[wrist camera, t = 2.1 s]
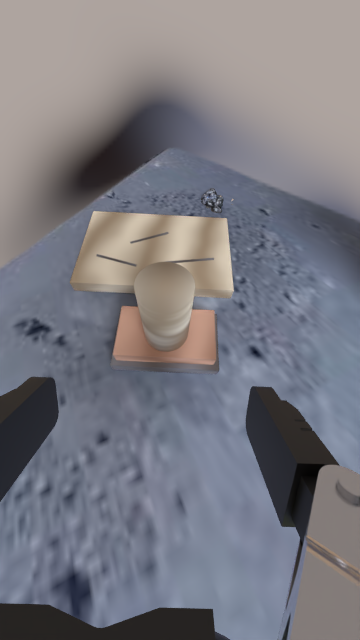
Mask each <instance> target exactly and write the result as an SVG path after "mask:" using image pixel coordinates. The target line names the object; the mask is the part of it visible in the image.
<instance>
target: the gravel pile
mask: <svg viewBox="0 0 360 640" xmlns="http://www.w3.org/2000/svg"><path fill="white" fill-rule="evenodd" d="M201 200H202V201H201V203H202V204H203V205H206V207H207V208H211V211H212V212H216V213H221V212H222V209H221V207H222V205H223V204H222V203H223V197H222V196H221V195H217V193H216V191H215V189H214V188H211V189H210V190H209V191H207V192H206V193H205V194H204V195H203V196H202V198H201ZM233 200H234V199H232V201H233ZM232 205H233V204H232Z"/></svg>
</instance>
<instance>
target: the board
mask: <svg viewBox="0 0 360 640" xmlns="http://www.w3.org/2000/svg"><path fill="white" fill-rule="evenodd" d="M157 262H172V263H176V264H179V265H181V266H183V267H184V268H186V269H187V270H188V271H189V272H190V273H191V274H192V276H193V278H194V281H195V293H194V296H196V297H216V298H231V296H232V293H233V291H234V289H233V279H232V268H231V257H230V247H229V236H228V225H227V218H210V217H192V216H174V215H155V214H137V213H118V212H100V211H93V214H92V217H91V220H90V223H89V226H88V229H87V232H86V235H85V238H84V241H83V244H82V247H81V250H80V253H79V256H78V259H77V262H76V265H75V268H74V271H73V274H72V277H71V280H70V284H71V285H72V287H73V288H74V290H75V291H95V292H115V293H135V291H134V282H135V279H136V277H137V275H138V274H139V272H140V271H141V270H142V269H144V268H145V267H147V266H148V265H151V264H153V263H157Z"/></svg>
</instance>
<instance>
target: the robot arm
mask: <svg viewBox="0 0 360 640" xmlns="http://www.w3.org/2000/svg"><path fill="white" fill-rule="evenodd" d="M58 413H59V410H58V401H57V393H56V385H55V380H54V379H53V378H50V377H31V378H29V379H28V380H27V381H25V382H24V383H23V384H22V385H21V386H19V387H18V388H17V389H14V390H12V391H10V392H8V393H6V394H4V395H2V396H0V501H1V500H2V499H3V497H4V496H5V494H6V493H7V492H8V490H9V489H10V487H11V486H12V485H13V483H14V482H15V481H16V479H17V478H18V476H19V475H20V474H21V472H22V471H23V469H24V468H25V467H26V465H27V464H28V462H29V461H30V460H31V458H32V457H33V456H34V454H35V453H36V451H37V450H38V449H39V447H40V446H41V444H42V443H43V442H44V440H45V439H46V437H47V436H48V435H49V433H50V432H51V431H52V429H53V428H54V426H55V424H56V422H57V419H58ZM246 430H247V435H248V438H249V440H250V443H251V446H252V448H253V451H254V454H255V456H256V459H257V462H258V464H259V467H260V470H261V472H262V475H263V478H264V480H265V483H266V486H267V488H268V491H269V494H270V497H271V499H272V502H273V505H274V507H275V510H276V513H277V515H278V518H279V521H280V523H281V526H282V527H296V529H297V532H298V534H299V536H300V540H299V544H298V548H297V553H296V557H295V562H294V567H293V571H292V576H291V581H290V585H289V590H288V595H287V599H286V604H285V609H284V613H283V618H282V622H281V627H280V631H279V635H278V639H277V640H360V475H359V474H358V473H356V472H354V471H352V470H350V469H348V468H345V467H342V466H340V465H339V464H338V463H337V461H336V460H335V459H334V457H333V456H332V455H331V453H330V452H329V451H328V449H327V448H326V447H325V445H324V444H323V443H322V441H321V440H320V439H319V437H318V436H317V435H316V433H315V432H314V431H312V428H311V427H310V425H309V424H308V423H307V422H306V421H305V419H304V417H303V416H302V415H301V413H300V412H299V411H298V409H296V408H295V407H294V406H292V405H291V404H290V403H288V402H287V401H284V400H280V398H279V397H278V395H277V394H276V392H275V391H274V389H273V388H272V387H255V386H253V387H252V388H251V390H250V395H249V402H248V408H247V415H246ZM0 640H230V639H228V638H227V637H225V636H223V635H221V634H219V633H217V632H215V629H214V618H213V609H190V608H158V609H155V610H152V611H149V612H146V613H144V614H141V615H138V616H135V617H133V618H130V619H127V620H124V621H122V622H119V623H116V624H113V625H111V626H108V627H105V628H96V627H93V626H91V625H89V624H87V623H85V622H83V621H81V620H79V619H77V618H75V617H73V616H71V615H69V614H67V613H65V612H63V611H61V610H59V609H56V608H54V607H52V606H50V605H39V604H2V603H0Z"/></svg>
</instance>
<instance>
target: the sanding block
mask: <svg viewBox="0 0 360 640" xmlns="http://www.w3.org/2000/svg"><path fill="white" fill-rule="evenodd" d="M134 291H135V295H136V300H137V304H138V307H134V306H122V309H121V310H120V315H119V321H118V326H117V331H116V337H115V342H114V347H113V353H112V358H111V364H110V366H111V367H112V368H113V370H131V371H154V372H176V373H198V374H217V373H218V371H219V358H218V336H217V315H216V314H214V310H196V309H192V306H193V299H194V293H195V281H194V278H193V276H192V274H191V273H190V272H189V271H188V270H187V269H186V268H184V267H183V266H181V265H179V264H176V263H172V262H157V263H153V264H151V265H148V266H147V267H145V268H144V269H142V270H141V271H140V272H139V274H138V275H137V277H136V279H135V282H134Z"/></svg>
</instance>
